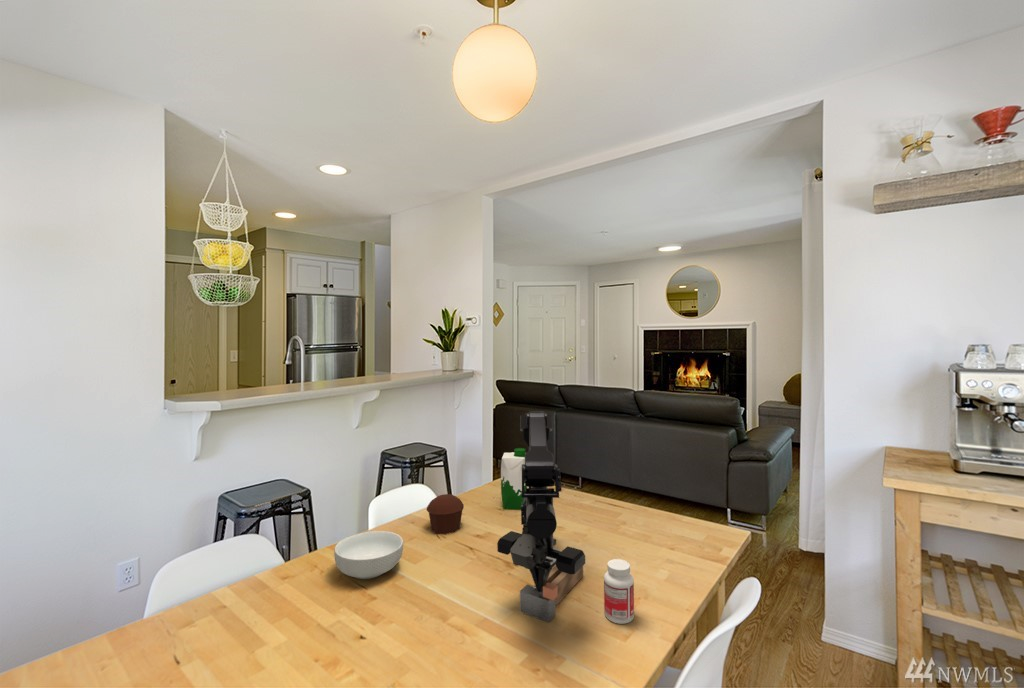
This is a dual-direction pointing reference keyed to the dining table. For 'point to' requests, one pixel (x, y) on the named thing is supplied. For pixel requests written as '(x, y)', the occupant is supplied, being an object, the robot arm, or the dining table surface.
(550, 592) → the tab
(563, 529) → the dining table surface
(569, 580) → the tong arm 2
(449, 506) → the muffin
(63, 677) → the dining table surface
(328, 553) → the dining table surface
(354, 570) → the cereal bowl
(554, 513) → the robot arm
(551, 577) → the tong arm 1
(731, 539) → the dining table surface
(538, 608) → the grey block
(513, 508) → the milk carton
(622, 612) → the pill bottle
